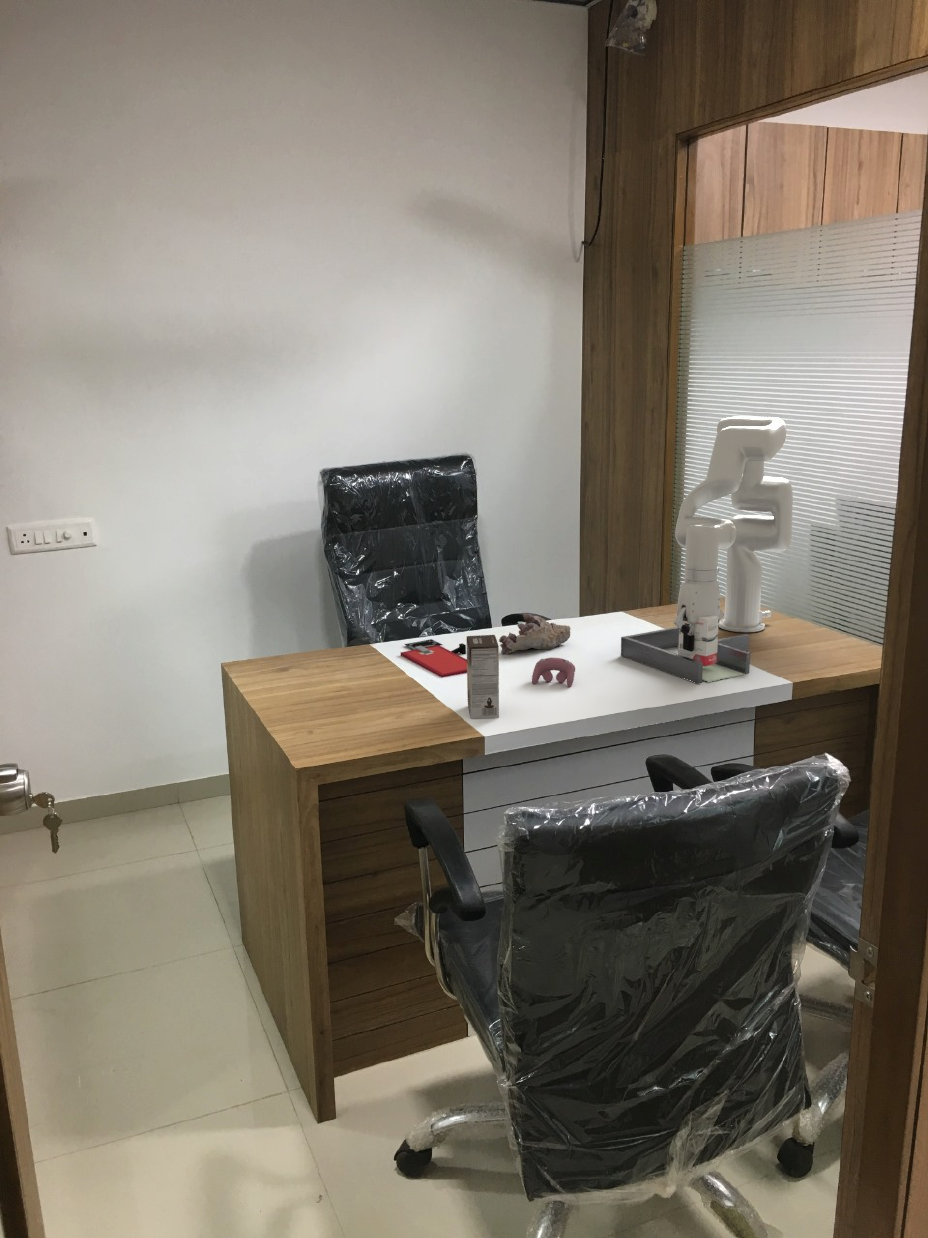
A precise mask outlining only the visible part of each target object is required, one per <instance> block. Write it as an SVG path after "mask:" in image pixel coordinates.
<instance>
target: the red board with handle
mask: <svg viewBox="0 0 928 1238" xmlns="http://www.w3.org/2000/svg"><path fill="white" fill-rule="evenodd" d="M404 646H406V647H408V648H410V649H411V650H407V651H401V652H400V656H401V657H403V658H404V659H406V660H408V661H410V662H411V663H414V664H416V665H418V666H419V667H420V668H423V669H425V670H427V671H429V672H431V673H432V674H435V675H436V676H438V677H440V678H446V677H452V676H459V675H463V674H467V658H464V657H463V656H461V655H467V644H465V643H459V644H458V647H457V648H455V649H452V650H449V649H447V648H445V647H443V644H442V643H441V642H438V641H436V640H434V639H432V638H431V639H426V640H425V639H423V640H421V641H420V640H419V641H413V642H409V643H404ZM459 654H461V655H459Z"/></svg>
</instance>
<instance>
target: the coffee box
mask: <svg viewBox="0 0 928 1238" xmlns="http://www.w3.org/2000/svg"><path fill="white" fill-rule="evenodd" d="M499 648H500V645H499V643H498V639H497V636H496V635H495V634H485V635H484V634H482V635H480V634H479V635H467V636H466V659H467V673H466V681H467V682H466V685H467V686H466V688H467V689H466V690H467V693H466V694H467V708H468V713H469V717H470V719H471V720H475V719H476V720H477V719H481V720H482V719H496V718H497V719H498V718H500V711H499V710H500V708H499V707H500V699H499V698H500V690H499V689H500V687H499V684H500V681H499V680H500V678H499V675H500V674H499V673H500V672H499V671H500V668H499V667H500V666H499V663H500V661H499V660H500V657H499V655H500V653H499V650H500V649H499Z"/></svg>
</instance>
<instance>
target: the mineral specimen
mask: <svg viewBox="0 0 928 1238" xmlns="http://www.w3.org/2000/svg"><path fill="white" fill-rule="evenodd" d="M523 619H524V621H525V623H518V624H517V625H516V627H517V628H518V629H519V630H518V634H517V635H516V634H515V633H511V632H509V633H508V636H507V635H501V636H500V637H499V640H498V642H499V643H500V645H499V647H501V651H500V653H501V654H503V655H504V654H505V655H509V654H510V653H513V652H516V651H526V650H529V649H531V648H532V649H538V650H542V649H543V650H549V649H548V648H551V649H555V648H557V647H558V646H559V645H561V644H565V643H566V642H567V641H569V639H570V638H571V626H570V625H565V624H563V625H562V624H556V623H554V622H549V621H547V620H546V619H545V618H542V617H541V616H538V615H533V614H531V613H524V614H523Z"/></svg>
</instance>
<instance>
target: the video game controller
mask: <svg viewBox="0 0 928 1238" xmlns="http://www.w3.org/2000/svg"><path fill="white" fill-rule="evenodd" d="M551 671H557V673H556V675H555V679H556V681H557V682H558V683H561V684H563V683H565V682H566V685H567V688H571V687H572V685H573V683H574V680H575V679H574V678H575V674H576V673H575V672H576V667H575V664H574V663H573V662H571V661H570V660H567V659H565V658H562V657H561V658H560V657H545V658H540V660H538V661H537V662H536V663H535V666H534V668H533V672H532V676H531V683H532V684H533V685H536V684H537V683H538V682H539V680H540V679H541V677H542V678H543V680H544V681H545V682H547V683H548V682H551V681H553V679H554V675H553V673H552V672H551Z"/></svg>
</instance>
